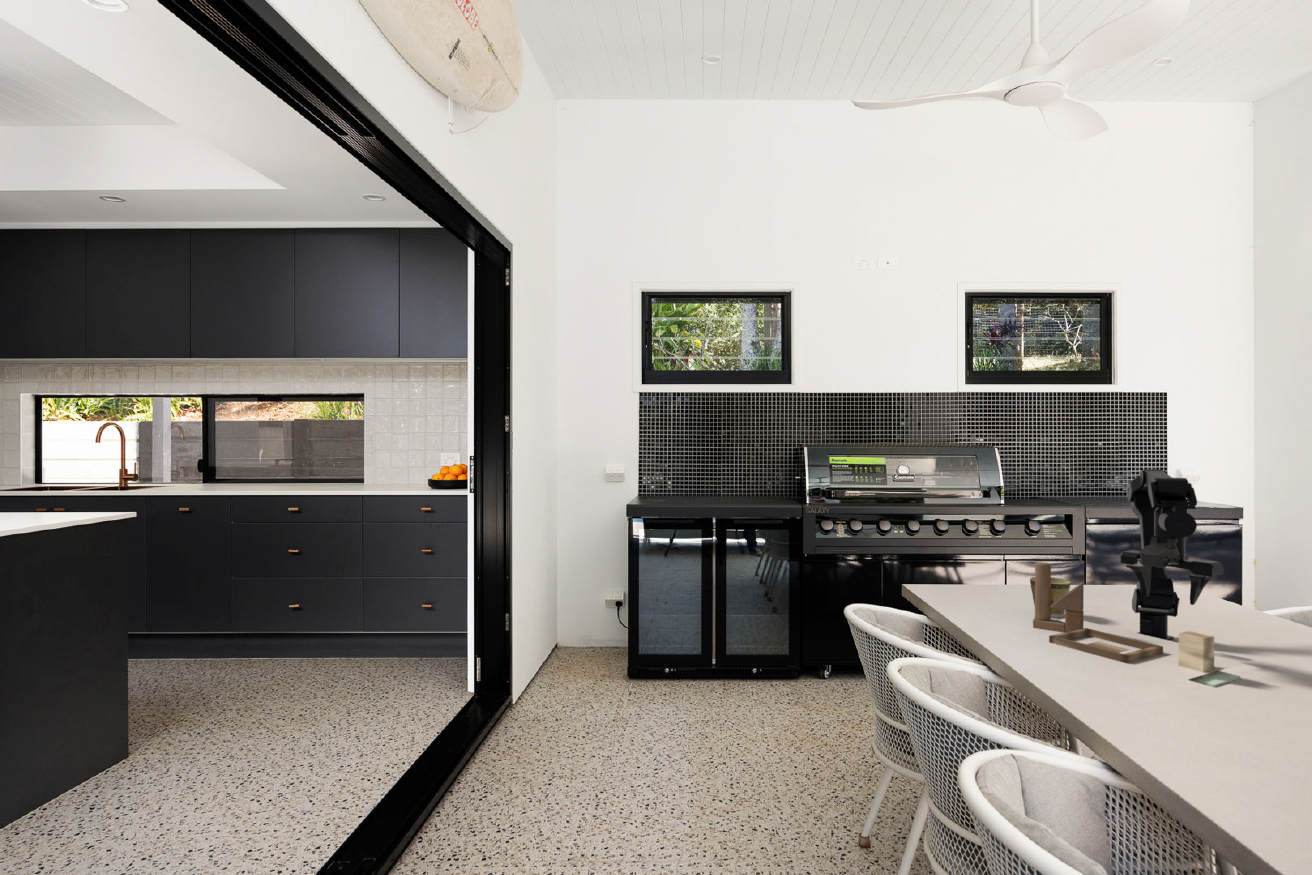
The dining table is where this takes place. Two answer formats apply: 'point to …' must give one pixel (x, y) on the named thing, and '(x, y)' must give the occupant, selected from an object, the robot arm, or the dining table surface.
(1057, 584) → the yellow green glass cup
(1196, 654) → the beech block
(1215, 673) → the green mat
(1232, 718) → the dining table surface
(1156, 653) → the wooden rectangular frame
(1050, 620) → the wooden block structure
